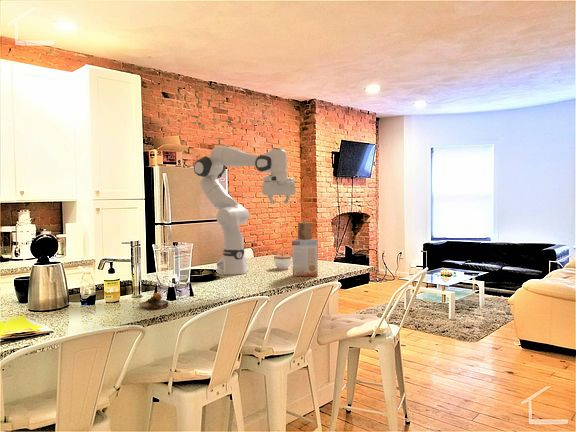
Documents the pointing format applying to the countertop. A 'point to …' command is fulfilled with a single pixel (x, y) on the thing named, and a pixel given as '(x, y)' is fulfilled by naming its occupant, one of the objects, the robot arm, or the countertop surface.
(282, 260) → the lidded jar
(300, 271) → the cracker box
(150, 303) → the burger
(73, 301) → the countertop surface
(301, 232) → the walnut block
